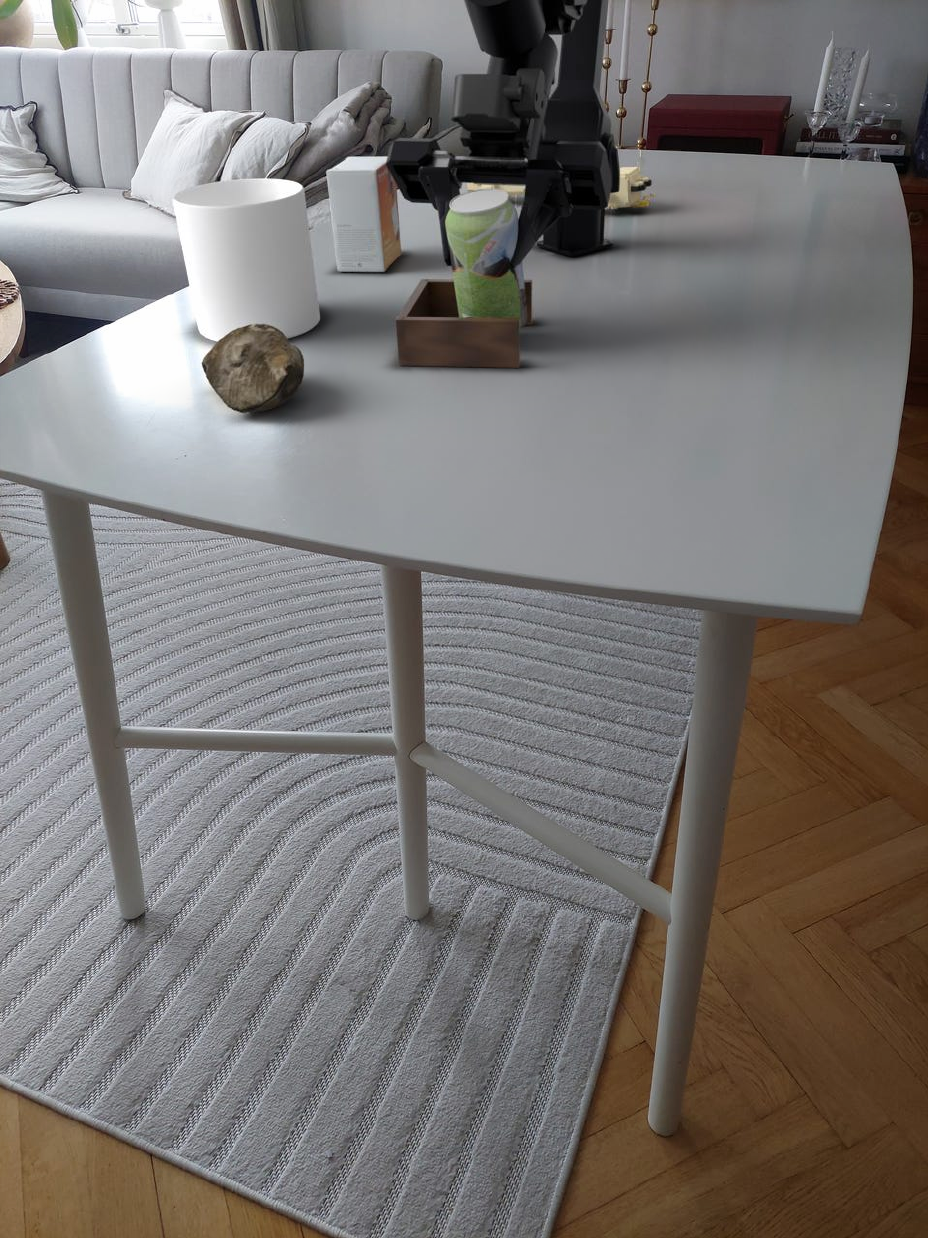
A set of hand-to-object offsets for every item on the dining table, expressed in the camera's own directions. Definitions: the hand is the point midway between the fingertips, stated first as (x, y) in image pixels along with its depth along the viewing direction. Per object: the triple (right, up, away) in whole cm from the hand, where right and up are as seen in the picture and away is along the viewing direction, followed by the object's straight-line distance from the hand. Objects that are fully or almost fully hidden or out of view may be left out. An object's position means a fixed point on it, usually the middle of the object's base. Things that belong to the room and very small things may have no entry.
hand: (478, 265), depth 81 cm
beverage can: (+1, -5, +5) cm, 7 cm away
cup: (-21, -1, +12) cm, 24 cm away
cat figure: (+12, +25, +47) cm, 55 cm away
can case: (-1, -5, +6) cm, 8 cm away
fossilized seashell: (-18, -12, -3) cm, 22 cm away
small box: (-12, +10, +28) cm, 33 cm away
